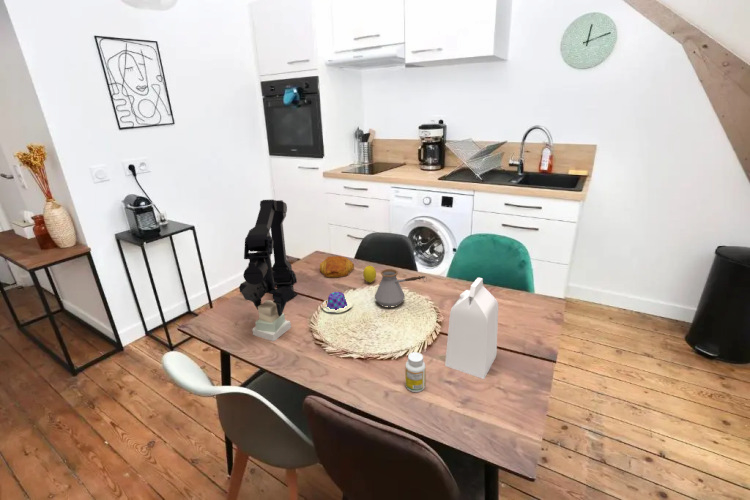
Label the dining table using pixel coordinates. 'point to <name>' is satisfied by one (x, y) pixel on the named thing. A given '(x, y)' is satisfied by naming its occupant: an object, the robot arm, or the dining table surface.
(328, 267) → the croissant
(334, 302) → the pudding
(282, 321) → the sage green block
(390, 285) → the coffee pot
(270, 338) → the base block
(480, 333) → the milk
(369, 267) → the lemon
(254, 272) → the robot arm
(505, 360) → the dining table surface
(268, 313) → the birch cube
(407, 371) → the supplement bottle
